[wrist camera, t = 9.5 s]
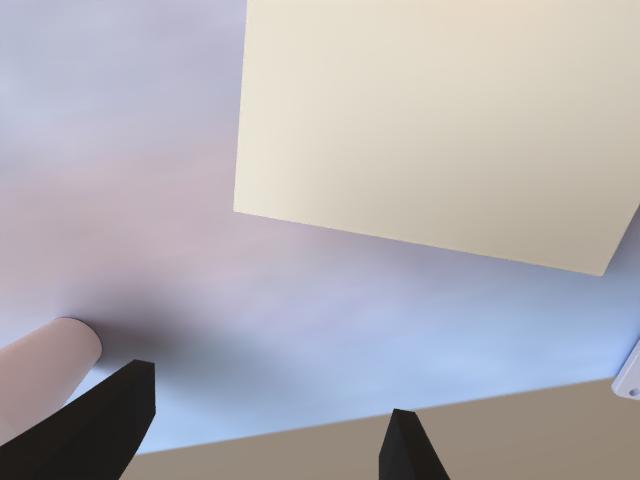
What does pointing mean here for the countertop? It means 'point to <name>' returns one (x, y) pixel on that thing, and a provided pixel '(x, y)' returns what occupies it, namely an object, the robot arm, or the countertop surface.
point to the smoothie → (43, 373)
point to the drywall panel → (446, 123)
